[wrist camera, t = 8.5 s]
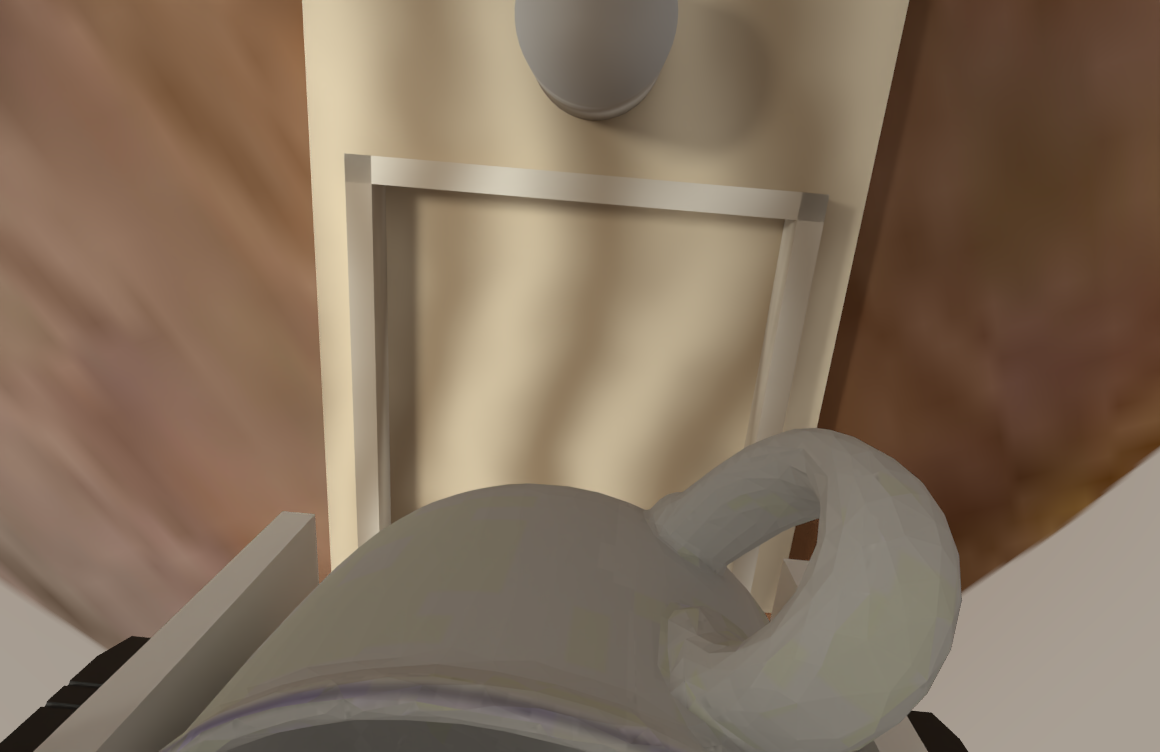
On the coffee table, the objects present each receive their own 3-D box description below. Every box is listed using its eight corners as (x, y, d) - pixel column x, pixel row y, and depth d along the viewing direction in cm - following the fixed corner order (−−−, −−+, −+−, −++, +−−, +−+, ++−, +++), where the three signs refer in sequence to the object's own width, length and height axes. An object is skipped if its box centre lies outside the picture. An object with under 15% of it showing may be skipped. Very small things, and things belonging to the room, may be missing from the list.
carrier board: (341, 557, 30) (290, 629, 25) (313, -89, 22) (227, -174, 17) (769, 597, 30) (803, 677, 25) (904, -41, 22) (994, -113, 17)
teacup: (551, 845, 17) (504, 1391, 9) (243, 615, 15) (-145, 1058, 7) (968, 553, 13) (1447, 1021, 6) (641, 208, 12) (710, 227, 4)
